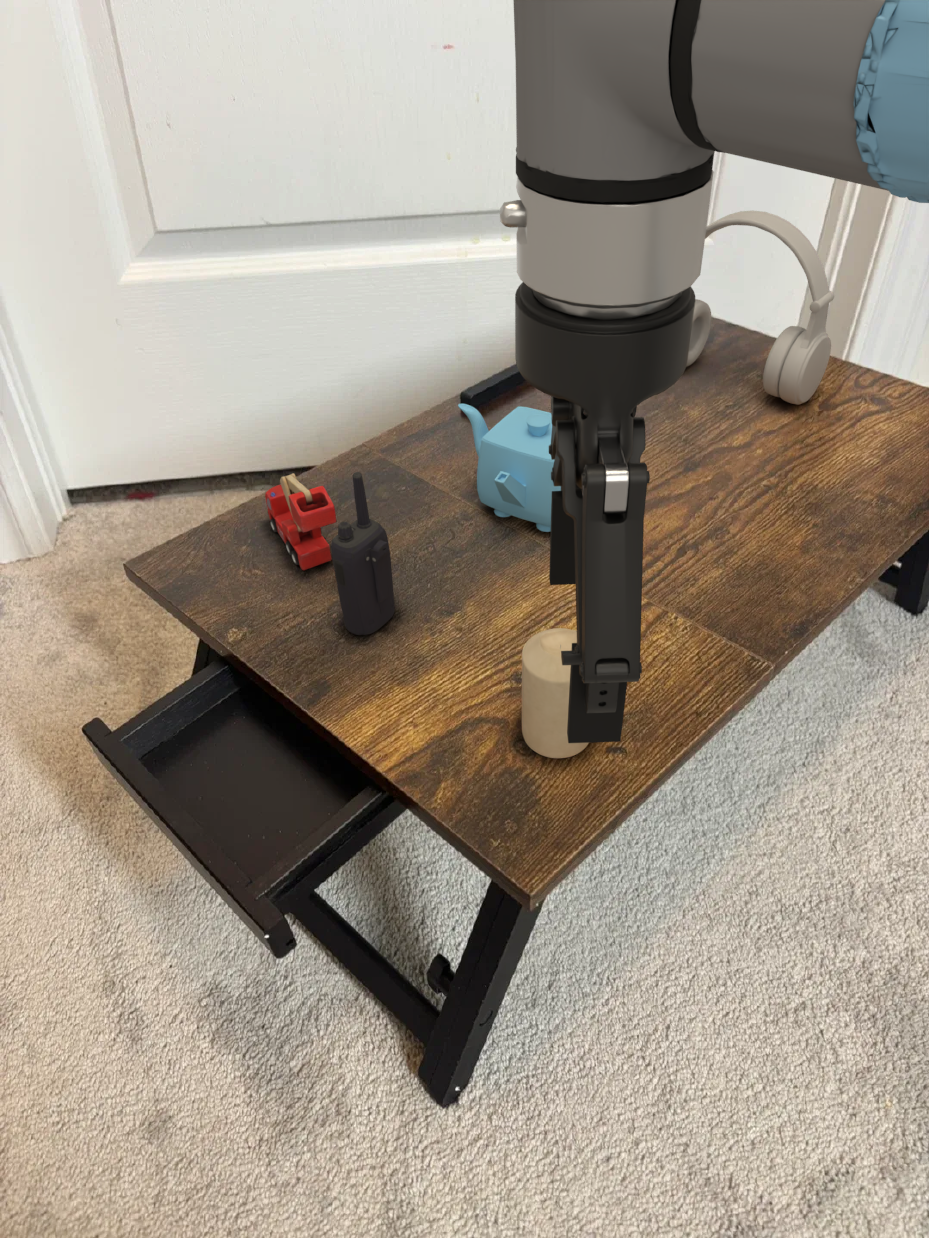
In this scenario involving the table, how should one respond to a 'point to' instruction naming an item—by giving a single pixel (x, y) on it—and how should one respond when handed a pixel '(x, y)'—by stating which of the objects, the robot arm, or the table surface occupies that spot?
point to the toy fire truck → (301, 520)
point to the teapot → (515, 464)
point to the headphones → (796, 349)
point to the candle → (547, 693)
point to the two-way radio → (363, 569)
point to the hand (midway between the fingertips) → (581, 652)
